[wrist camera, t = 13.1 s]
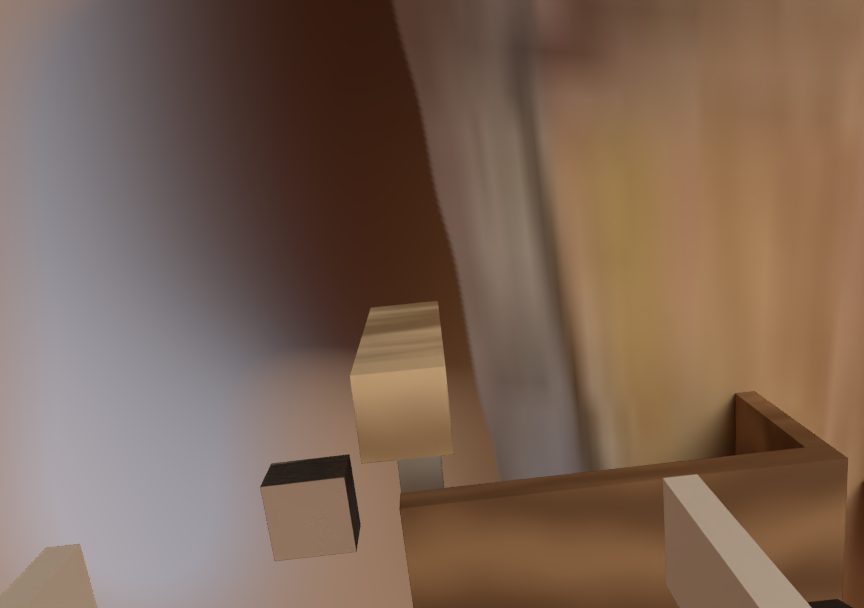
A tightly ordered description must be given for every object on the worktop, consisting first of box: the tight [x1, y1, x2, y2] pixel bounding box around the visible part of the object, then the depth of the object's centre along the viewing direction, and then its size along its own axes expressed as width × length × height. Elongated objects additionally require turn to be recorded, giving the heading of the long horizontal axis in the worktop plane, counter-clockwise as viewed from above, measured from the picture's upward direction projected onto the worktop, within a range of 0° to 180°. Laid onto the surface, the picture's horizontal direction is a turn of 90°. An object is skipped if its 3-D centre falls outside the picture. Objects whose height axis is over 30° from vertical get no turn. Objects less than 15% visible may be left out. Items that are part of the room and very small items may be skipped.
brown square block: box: [260, 454, 361, 561], centre depth 40 cm, size 5×5×3 cm
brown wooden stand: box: [400, 391, 848, 608], centre depth 38 cm, size 14×22×9 cm, turn 97°
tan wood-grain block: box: [350, 301, 454, 493], centre depth 35 cm, size 17×4×12 cm, turn 6°
